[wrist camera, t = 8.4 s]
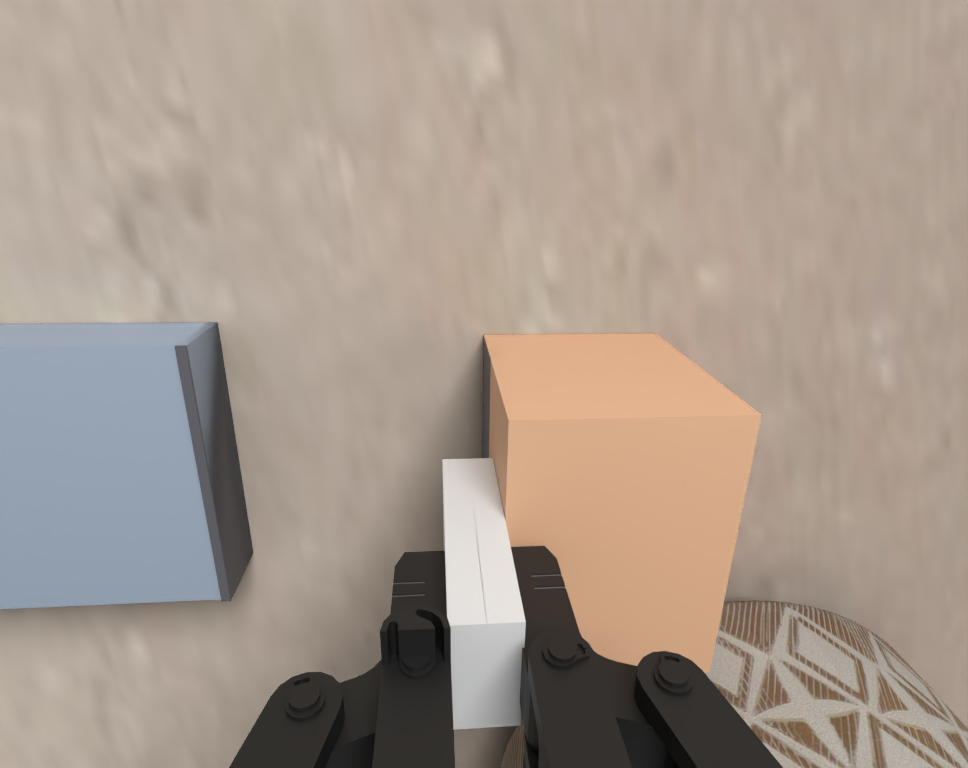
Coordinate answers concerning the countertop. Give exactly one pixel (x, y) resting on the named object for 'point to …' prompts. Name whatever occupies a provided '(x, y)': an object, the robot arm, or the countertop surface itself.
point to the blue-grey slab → (117, 466)
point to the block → (622, 481)
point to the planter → (823, 693)
